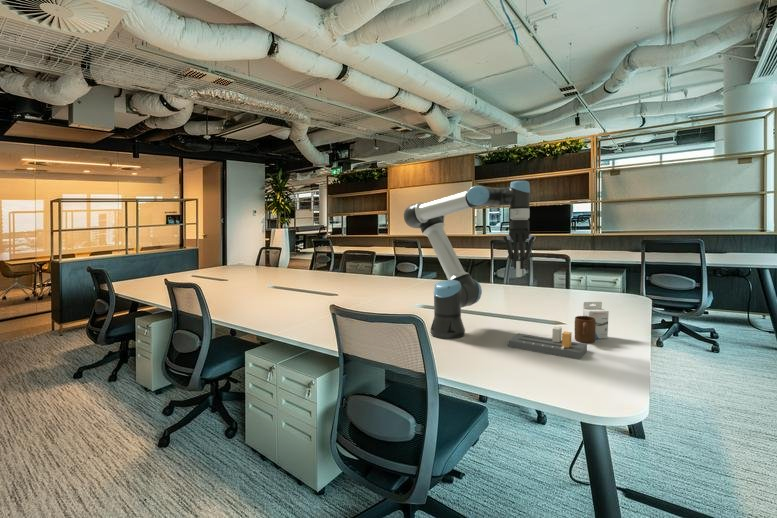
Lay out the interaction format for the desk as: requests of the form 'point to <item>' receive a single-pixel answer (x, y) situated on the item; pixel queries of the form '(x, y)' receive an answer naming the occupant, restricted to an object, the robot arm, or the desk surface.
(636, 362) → the desk surface
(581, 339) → the mug
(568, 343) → the fader tab
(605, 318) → the ink box
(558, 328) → the fader far
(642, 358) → the desk surface
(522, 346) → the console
